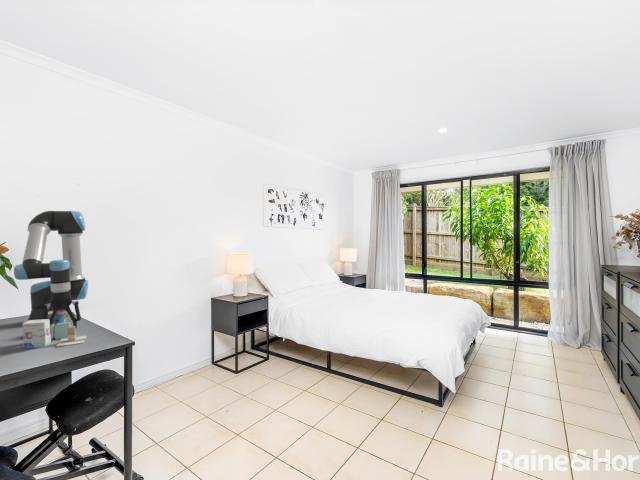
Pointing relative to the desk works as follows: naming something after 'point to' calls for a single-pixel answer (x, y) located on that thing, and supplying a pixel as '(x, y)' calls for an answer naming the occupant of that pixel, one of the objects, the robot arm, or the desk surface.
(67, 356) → the desk surface
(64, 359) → the desk surface
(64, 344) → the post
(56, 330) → the mint green block
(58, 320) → the mug
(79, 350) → the desk surface
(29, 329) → the ink box
